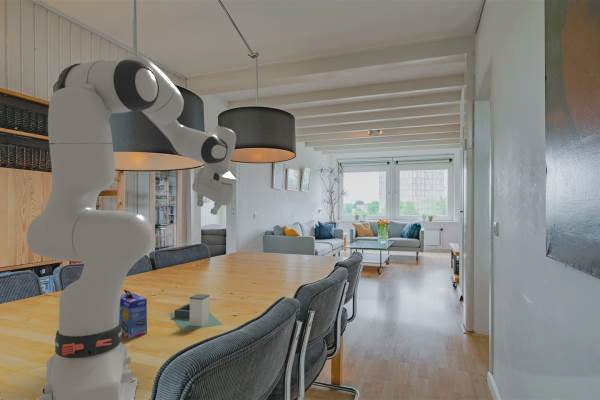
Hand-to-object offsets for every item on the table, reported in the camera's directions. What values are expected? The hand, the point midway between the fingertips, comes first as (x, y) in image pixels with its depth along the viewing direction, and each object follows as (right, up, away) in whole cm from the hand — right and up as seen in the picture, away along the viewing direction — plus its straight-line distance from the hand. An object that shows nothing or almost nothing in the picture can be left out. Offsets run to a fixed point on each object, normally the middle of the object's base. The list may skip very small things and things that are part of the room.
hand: (206, 210), depth 125 cm
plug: (+1, -37, -11) cm, 39 cm away
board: (-2, -38, -6) cm, 39 cm away
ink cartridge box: (-18, -38, -19) cm, 46 cm away
